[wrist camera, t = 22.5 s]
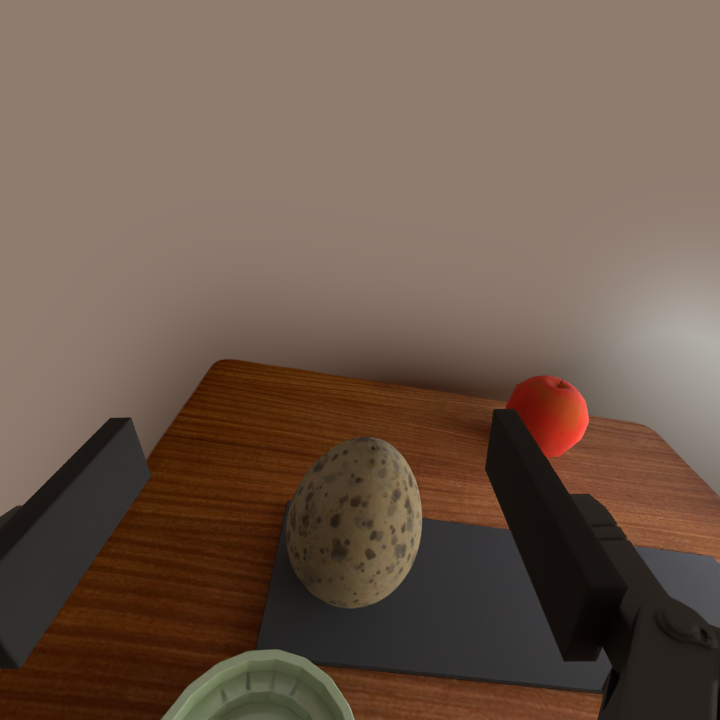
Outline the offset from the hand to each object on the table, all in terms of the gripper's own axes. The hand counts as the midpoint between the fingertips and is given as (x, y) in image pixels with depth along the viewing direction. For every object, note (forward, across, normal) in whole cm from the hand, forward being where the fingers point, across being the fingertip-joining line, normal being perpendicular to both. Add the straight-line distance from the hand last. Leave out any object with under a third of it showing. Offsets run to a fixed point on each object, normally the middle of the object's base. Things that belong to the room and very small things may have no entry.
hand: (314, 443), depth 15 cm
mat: (+11, +17, -28) cm, 34 cm away
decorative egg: (+11, -1, -24) cm, 26 cm away
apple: (+34, +26, -28) cm, 51 cm away
